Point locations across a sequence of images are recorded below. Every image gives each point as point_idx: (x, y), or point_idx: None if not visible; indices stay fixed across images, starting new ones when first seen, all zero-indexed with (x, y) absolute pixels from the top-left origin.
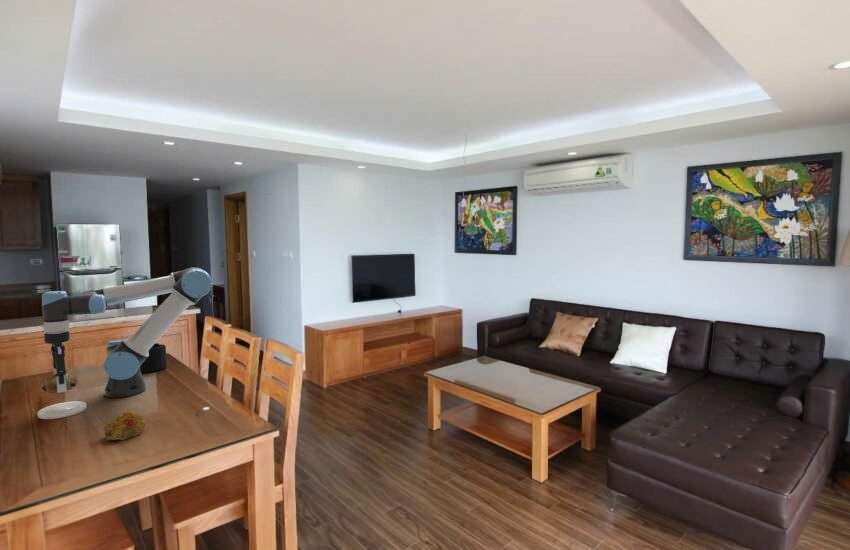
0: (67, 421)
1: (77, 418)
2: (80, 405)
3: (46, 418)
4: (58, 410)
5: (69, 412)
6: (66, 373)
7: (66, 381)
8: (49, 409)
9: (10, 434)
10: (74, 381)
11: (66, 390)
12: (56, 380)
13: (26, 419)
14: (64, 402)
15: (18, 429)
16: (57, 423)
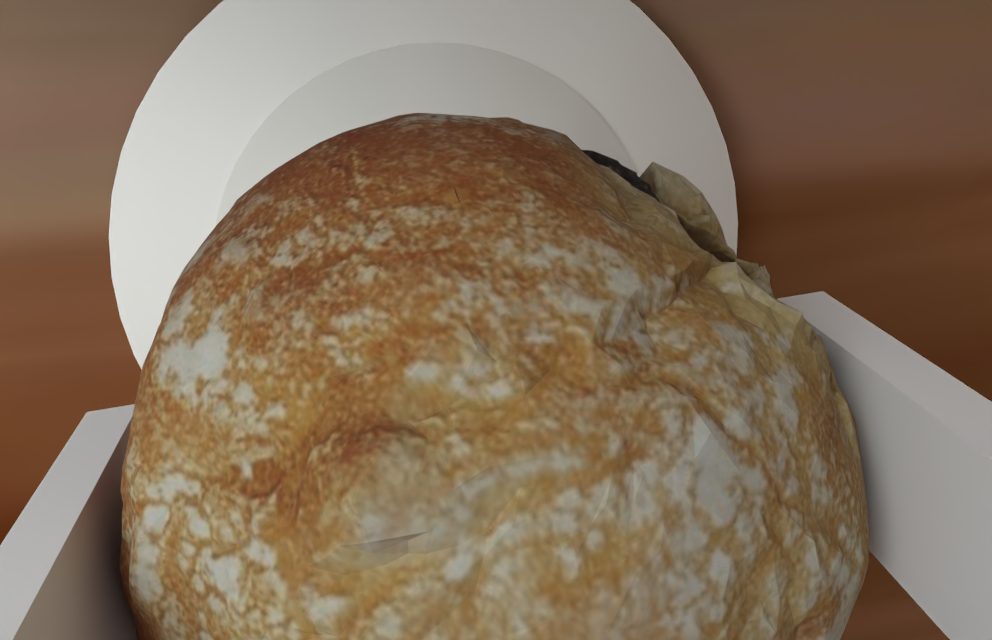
0: (914, 168)
1: (888, 54)
2: (447, 23)
3: None
4: None
5: (706, 165)
6: (494, 496)
7: (821, 378)
8: None
9: (898, 636)
10: (601, 173)
11: (828, 299)
12: (837, 632)
13: None
14: (120, 266)
15: None
16: (900, 272)
